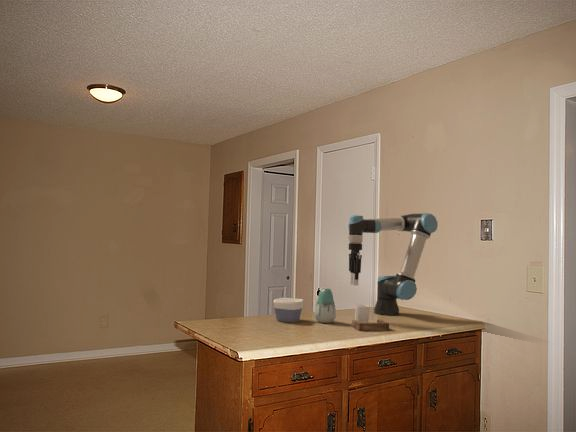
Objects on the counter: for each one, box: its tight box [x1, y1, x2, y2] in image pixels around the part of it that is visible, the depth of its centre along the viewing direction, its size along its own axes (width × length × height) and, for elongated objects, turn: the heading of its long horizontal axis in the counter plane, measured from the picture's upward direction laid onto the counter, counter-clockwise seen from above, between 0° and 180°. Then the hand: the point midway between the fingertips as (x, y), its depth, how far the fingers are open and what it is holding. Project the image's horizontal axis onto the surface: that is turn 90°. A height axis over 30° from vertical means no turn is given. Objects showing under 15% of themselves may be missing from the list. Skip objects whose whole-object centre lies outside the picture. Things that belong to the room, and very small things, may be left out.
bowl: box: [272, 297, 305, 323], centre depth 264 cm, size 15×15×11 cm
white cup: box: [354, 303, 371, 323], centre depth 259 cm, size 8×8×10 cm
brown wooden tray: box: [351, 319, 390, 332], centre depth 249 cm, size 10×16×4 cm, turn 105°
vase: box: [314, 288, 337, 324], centre depth 263 cm, size 12×12×18 cm
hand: (354, 284), depth 271 cm, fingers open, 4 cm apart
